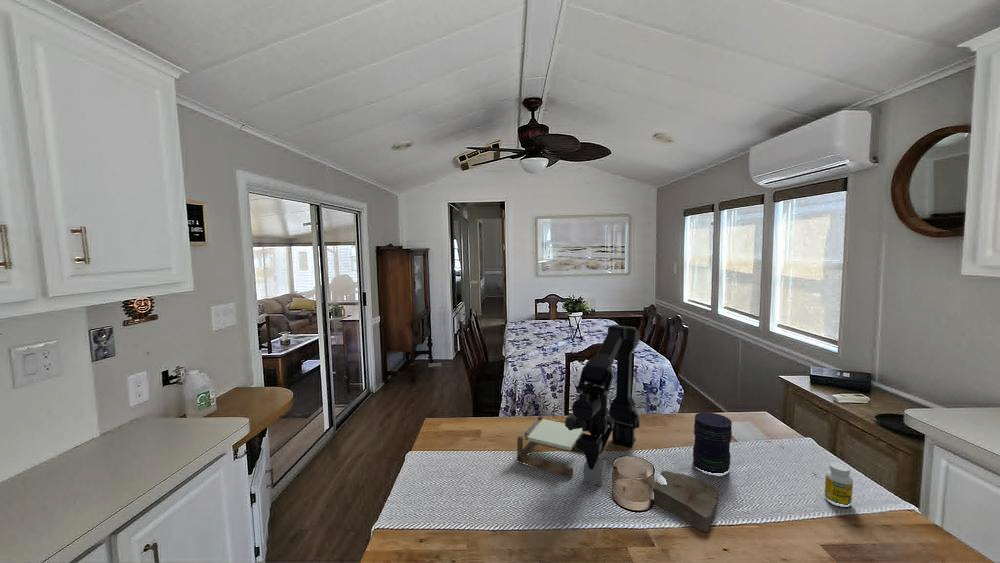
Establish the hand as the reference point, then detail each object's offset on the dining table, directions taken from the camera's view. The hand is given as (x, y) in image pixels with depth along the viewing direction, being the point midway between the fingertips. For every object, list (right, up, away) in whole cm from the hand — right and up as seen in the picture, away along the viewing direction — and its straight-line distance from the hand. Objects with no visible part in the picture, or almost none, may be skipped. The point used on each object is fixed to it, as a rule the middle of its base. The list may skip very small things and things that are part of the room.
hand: (595, 461), depth 114 cm
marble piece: (+20, -7, -10) cm, 24 cm away
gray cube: (0, -5, 0) cm, 5 cm away
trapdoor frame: (-10, -4, +13) cm, 17 cm away
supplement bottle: (+60, -6, -10) cm, 61 cm away
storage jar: (+36, -5, +6) cm, 37 cm away
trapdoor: (-10, +3, +12) cm, 16 cm away
